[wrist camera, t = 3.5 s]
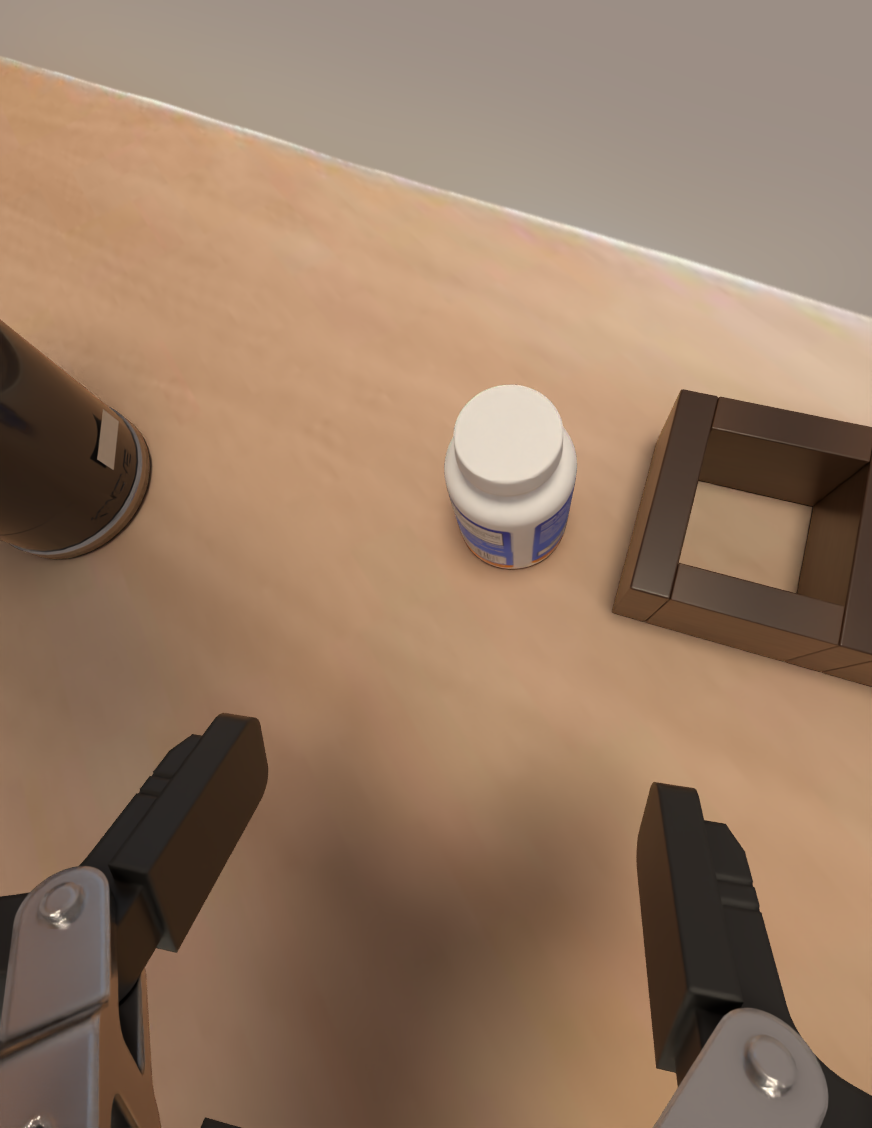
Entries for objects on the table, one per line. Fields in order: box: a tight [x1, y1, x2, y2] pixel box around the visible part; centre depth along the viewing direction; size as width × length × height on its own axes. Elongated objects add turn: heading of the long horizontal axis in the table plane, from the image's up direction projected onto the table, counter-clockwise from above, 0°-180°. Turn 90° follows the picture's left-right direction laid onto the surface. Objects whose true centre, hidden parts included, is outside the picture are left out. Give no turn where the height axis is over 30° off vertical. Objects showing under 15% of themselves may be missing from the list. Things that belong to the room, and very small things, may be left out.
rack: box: [612, 390, 872, 687], centre depth 26 cm, size 17×9×5 cm, turn 72°
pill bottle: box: [444, 385, 577, 569], centre depth 26 cm, size 5×5×10 cm
